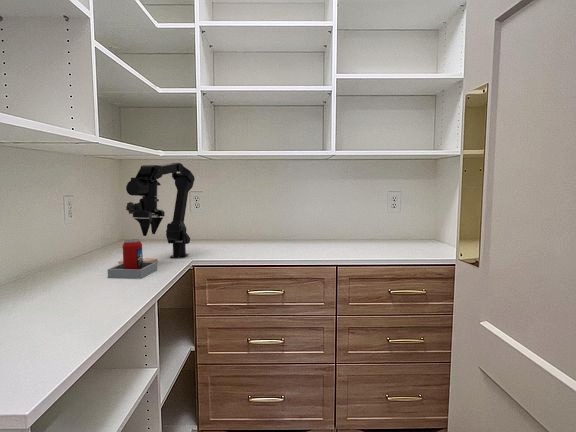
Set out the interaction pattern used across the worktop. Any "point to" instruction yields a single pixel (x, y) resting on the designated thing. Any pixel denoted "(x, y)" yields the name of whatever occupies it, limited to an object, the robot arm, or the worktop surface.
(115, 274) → the tray
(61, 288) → the worktop surface
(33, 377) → the worktop surface
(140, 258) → the beverage can
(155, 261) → the tile
